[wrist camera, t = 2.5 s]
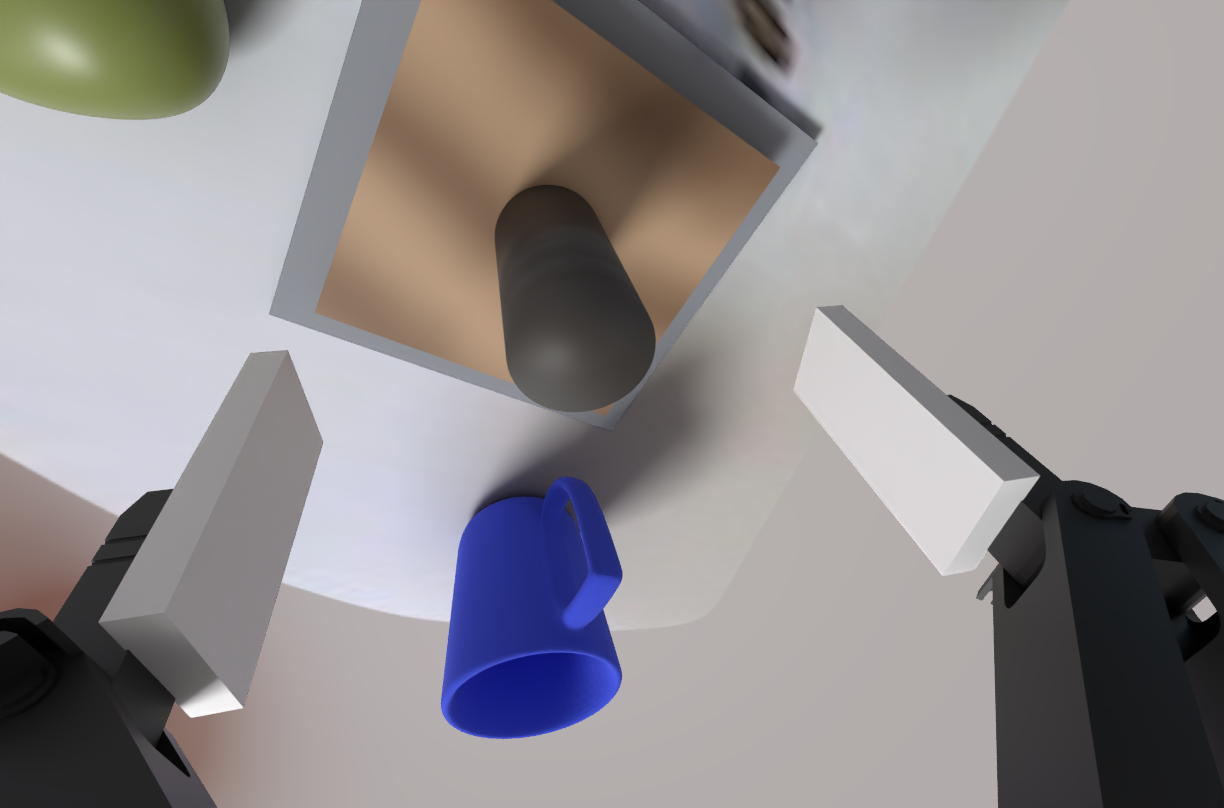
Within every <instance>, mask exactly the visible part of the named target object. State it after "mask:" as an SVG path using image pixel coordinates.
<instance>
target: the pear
mask: <svg viewBox="0 0 1224 808" xmlns="http://www.w3.org/2000/svg"><path fill="white" fill-rule="evenodd" d="M229 46H230V33H229V23H228V17H227V12H226V8H225V5H224V1H223V0H0V92H1V93H4V94H6V95H9V96H11V97H14V98H17V99H20V100H22V101H26V102H29V103H32V104H35V105H39V106H42V107H46V108H50V109H54V110H58V111H63V112H68V113H73V114H79V115H85V116H92V117H100V118H110V119H126V120H145V119H159V118H165V117H171V116H175V115H178V114H181V113H184V112H187V111H189V110H191V109H193V108H195V107H197V106H198V105H200V104H201V103H203V102H204V101H205V100H206V99H207V98H208V97H209V96H210V95H211V94H212V93H213V92H214V90H215V89H216V88H217V86H218V84H219V83H220V81H221V79H222V77H223V74H224V72H225V69H226V65H227V61H228V56H229Z"/></svg>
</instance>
